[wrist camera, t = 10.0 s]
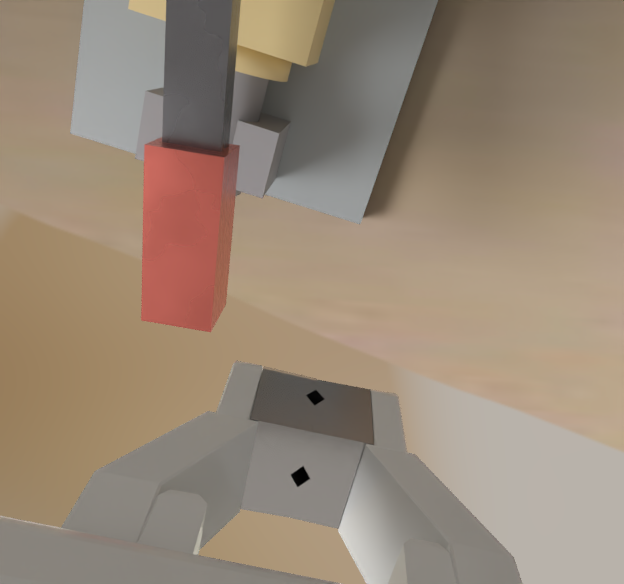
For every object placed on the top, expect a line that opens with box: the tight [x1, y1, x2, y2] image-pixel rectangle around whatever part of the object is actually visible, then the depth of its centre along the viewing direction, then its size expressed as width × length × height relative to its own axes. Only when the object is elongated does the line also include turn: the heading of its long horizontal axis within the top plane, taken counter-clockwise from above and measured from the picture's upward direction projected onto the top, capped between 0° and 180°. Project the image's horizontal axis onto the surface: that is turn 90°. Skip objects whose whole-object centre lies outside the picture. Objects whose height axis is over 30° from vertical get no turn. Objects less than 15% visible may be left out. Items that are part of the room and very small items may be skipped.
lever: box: [141, 0, 241, 332], centre depth 18 cm, size 4×14×2 cm, turn 172°
